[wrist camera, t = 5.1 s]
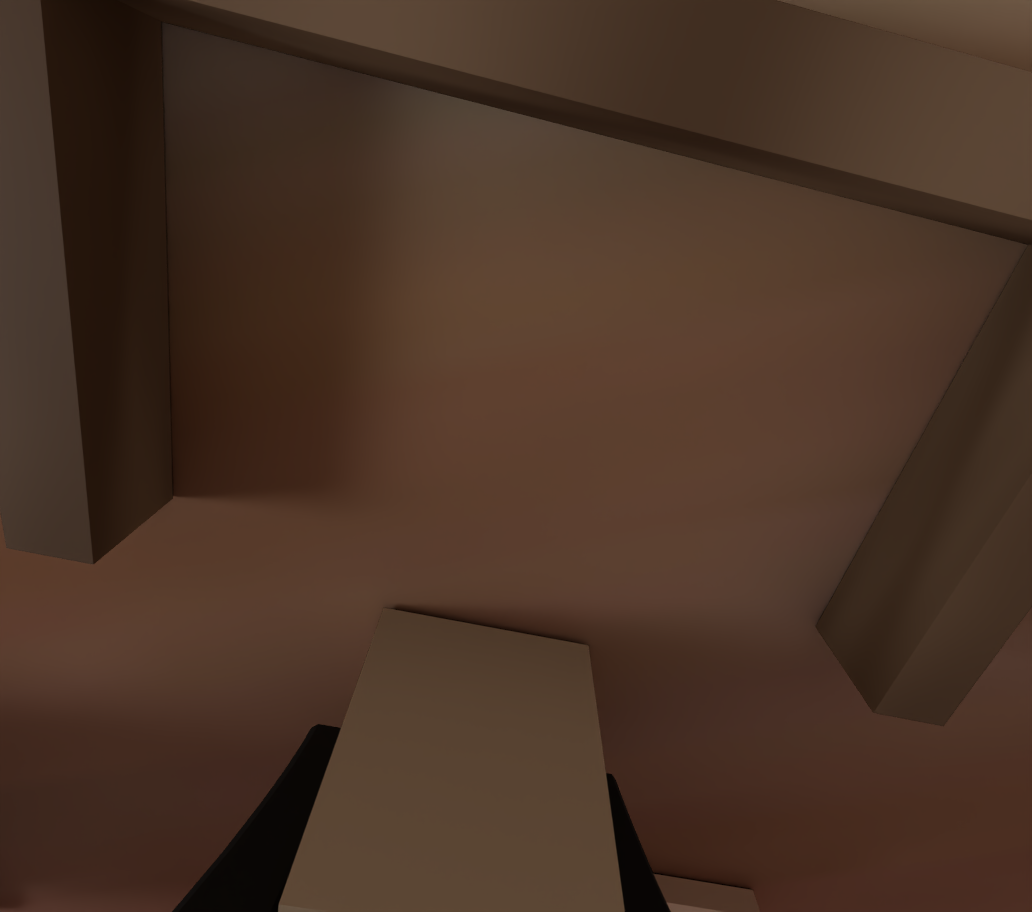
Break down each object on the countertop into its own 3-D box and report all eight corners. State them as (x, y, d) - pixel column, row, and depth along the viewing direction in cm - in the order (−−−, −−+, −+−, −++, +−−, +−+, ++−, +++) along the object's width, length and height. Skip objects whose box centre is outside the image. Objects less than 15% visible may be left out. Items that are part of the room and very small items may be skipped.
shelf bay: (102, 484, 10) (6, 548, 8) (54, -129, 7) (-126, -253, 5) (874, 638, 11) (943, 726, 9) (1161, 172, 8) (1359, 164, 6)
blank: (361, 752, 12) (265, 1072, 8) (383, 607, 11) (278, 905, 6) (540, 782, 13) (548, 1107, 8) (588, 645, 11) (630, 956, 7)
